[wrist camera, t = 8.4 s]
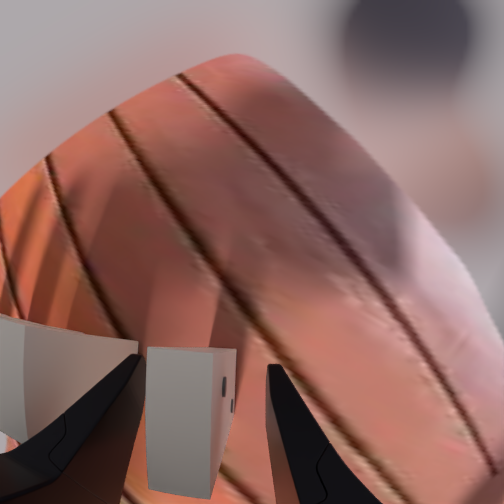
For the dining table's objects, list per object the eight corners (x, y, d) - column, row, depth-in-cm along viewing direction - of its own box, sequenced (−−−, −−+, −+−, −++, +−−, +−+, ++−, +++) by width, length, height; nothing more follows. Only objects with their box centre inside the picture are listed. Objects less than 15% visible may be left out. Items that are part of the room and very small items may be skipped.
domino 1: (112, 399, 15) (-3, 429, 5) (114, 337, 16) (-5, 316, 6) (136, 404, 15) (29, 447, 5) (138, 341, 16) (25, 325, 6)
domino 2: (206, 413, 15) (148, 489, 5) (208, 347, 16) (147, 346, 6) (235, 415, 15) (213, 499, 5) (238, 349, 16) (216, 353, 6)
